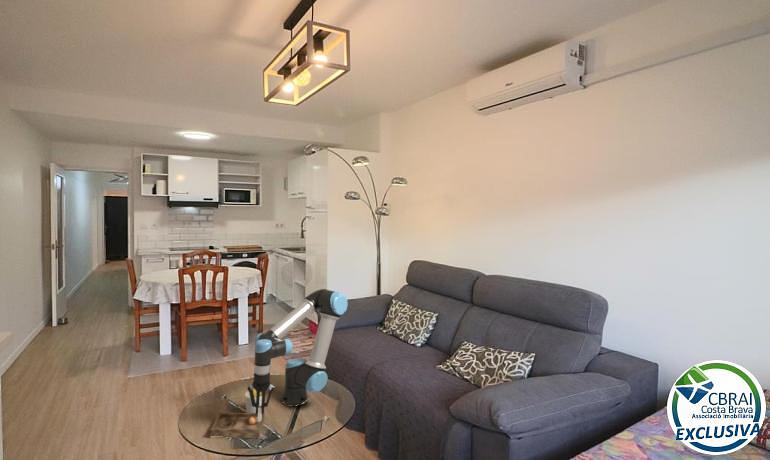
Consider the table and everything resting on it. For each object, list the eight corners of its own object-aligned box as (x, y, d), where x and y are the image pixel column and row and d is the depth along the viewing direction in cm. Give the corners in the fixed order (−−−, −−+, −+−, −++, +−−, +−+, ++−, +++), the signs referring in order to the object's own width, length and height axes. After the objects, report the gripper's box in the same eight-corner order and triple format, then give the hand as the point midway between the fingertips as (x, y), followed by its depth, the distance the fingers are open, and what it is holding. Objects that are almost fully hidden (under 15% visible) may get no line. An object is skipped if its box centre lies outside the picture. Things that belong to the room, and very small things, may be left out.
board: (264, 420, 212) (264, 413, 212) (258, 437, 196) (259, 429, 196) (219, 420, 209) (219, 413, 209) (209, 438, 194) (210, 429, 193)
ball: (256, 422, 206) (257, 415, 205) (255, 425, 202) (255, 418, 202) (249, 422, 205) (249, 415, 205) (247, 425, 202) (248, 418, 202)
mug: (259, 418, 214) (260, 398, 213) (240, 416, 215) (241, 396, 215) (270, 406, 227) (271, 387, 227) (252, 404, 229) (253, 385, 228)
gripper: (276, 369, 208) (274, 416, 208) (249, 369, 206) (247, 416, 207) (274, 375, 200) (272, 423, 201) (246, 375, 198) (244, 424, 199)
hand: (259, 420), depth 204 cm, fingers closed
